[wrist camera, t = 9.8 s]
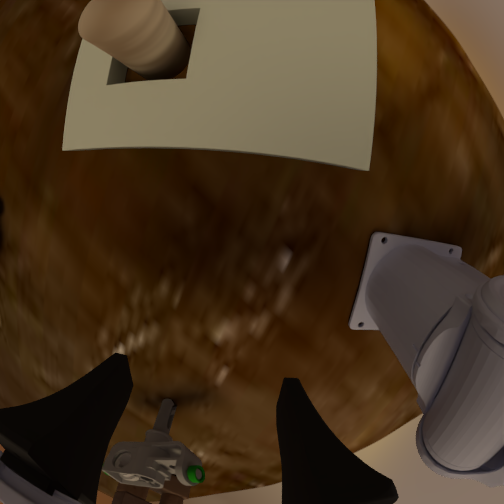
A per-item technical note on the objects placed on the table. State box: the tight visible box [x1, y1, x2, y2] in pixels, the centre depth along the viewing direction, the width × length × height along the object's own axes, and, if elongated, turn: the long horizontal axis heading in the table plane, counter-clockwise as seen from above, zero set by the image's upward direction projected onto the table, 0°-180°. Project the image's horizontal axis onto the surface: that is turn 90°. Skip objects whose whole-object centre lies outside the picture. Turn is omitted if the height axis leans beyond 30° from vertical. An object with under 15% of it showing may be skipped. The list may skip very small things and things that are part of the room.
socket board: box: [62, 0, 377, 171], centre depth 14 cm, size 20×14×2 cm
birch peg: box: [78, 0, 191, 81], centre depth 11 cm, size 4×4×8 cm
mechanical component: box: [102, 399, 205, 488], centre depth 20 cm, size 3×10×10 cm, turn 112°
